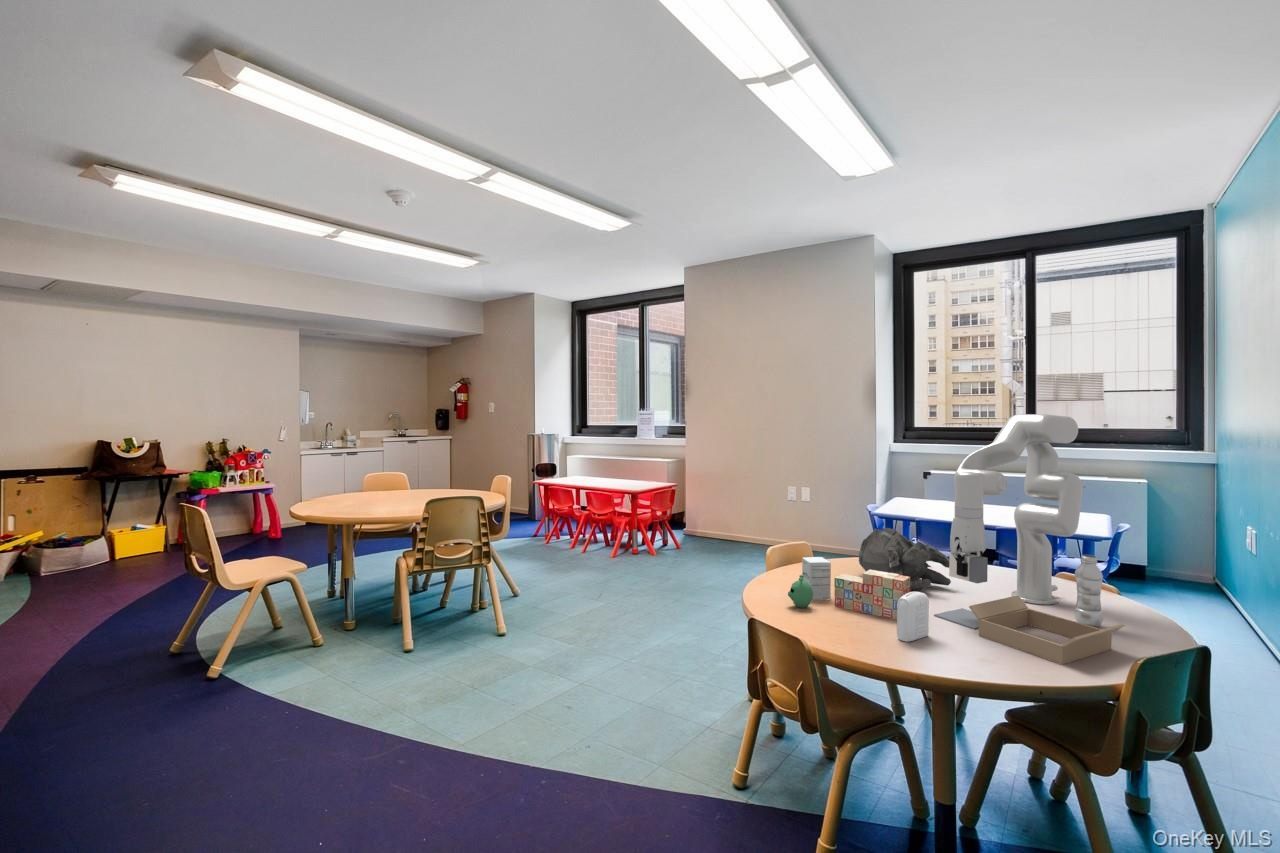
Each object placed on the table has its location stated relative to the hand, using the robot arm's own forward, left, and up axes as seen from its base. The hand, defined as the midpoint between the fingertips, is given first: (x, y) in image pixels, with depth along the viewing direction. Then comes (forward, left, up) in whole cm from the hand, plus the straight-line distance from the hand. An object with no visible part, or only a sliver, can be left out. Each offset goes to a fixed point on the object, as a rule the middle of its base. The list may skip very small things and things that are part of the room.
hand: (968, 574), depth 180 cm
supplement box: (+25, -37, -14) cm, 47 cm away
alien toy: (+37, -31, -14) cm, 50 cm away
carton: (-1, +21, -13) cm, 25 cm away
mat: (0, 0, -13) cm, 13 cm away
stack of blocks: (+20, -18, -14) cm, 30 cm away
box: (0, 0, -1) cm, 1 cm away
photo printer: (+27, +3, -14) cm, 30 cm away
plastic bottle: (-26, +19, -14) cm, 35 cm away
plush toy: (-15, -36, -14) cm, 41 cm away
